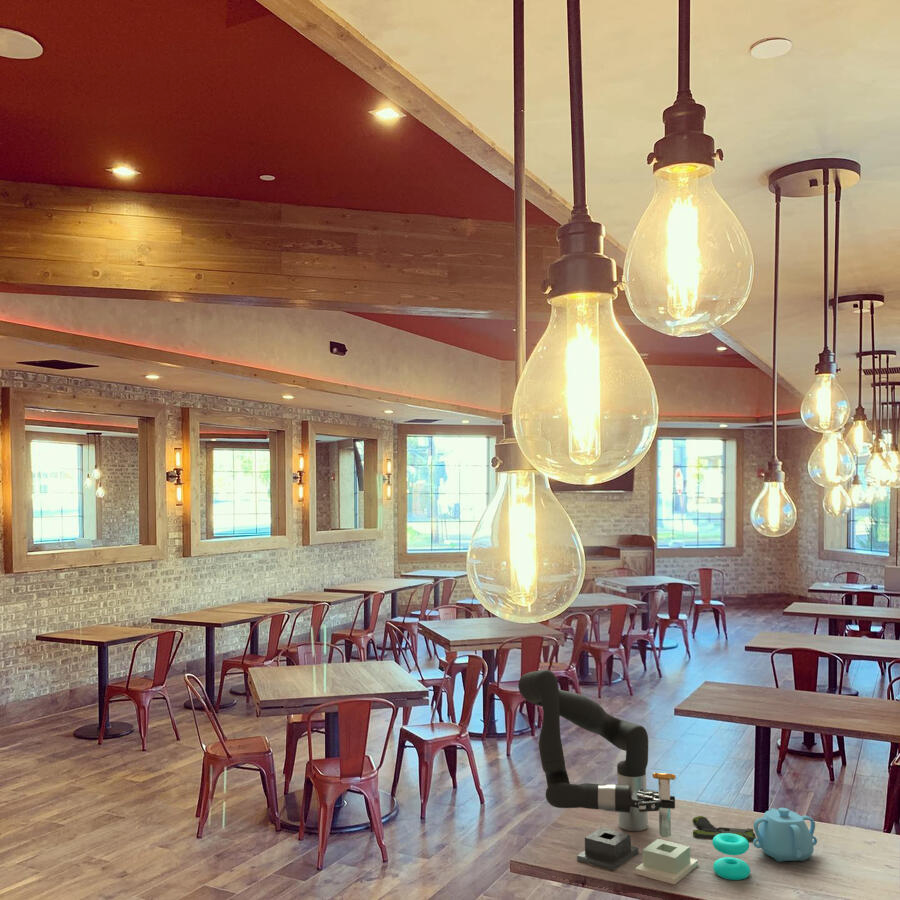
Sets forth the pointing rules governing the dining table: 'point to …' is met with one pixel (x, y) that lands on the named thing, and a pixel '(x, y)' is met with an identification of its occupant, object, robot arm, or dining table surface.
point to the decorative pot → (785, 835)
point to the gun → (718, 830)
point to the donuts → (730, 865)
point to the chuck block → (607, 849)
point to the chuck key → (664, 794)
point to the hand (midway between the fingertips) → (674, 802)
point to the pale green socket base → (666, 861)
